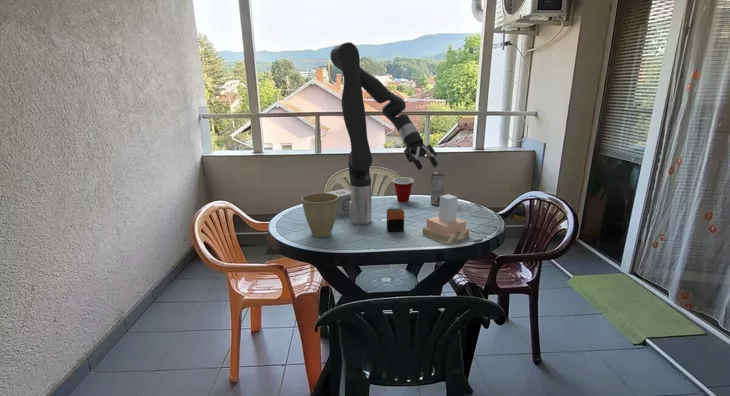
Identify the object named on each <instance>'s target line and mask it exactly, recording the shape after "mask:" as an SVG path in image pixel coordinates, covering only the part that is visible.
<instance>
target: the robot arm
mask: <svg viewBox="0 0 730 396" xmlns="http://www.w3.org/2000/svg"><path fill="white" fill-rule="evenodd" d="M330 60H331V63H332V64H333V65H334V66H335V67H336V68H337V69H339V71H342V77H343V89H342V95H341V110H342V116H343V121H344V124H345V128H346V131H347V134H348V137H349V141H350V148H351V151H350V152H349V154H348V177H349V184H350V186H349V187H350V190H349V191H351V201H349V215H348V216H349V218H348V219H349V220H348V221H349V222H350V223H353V224H354V225H356V226H358V225H368V224H370V223H372V220H373V219H372V178H371V174H370V168H371V166H372V163H373V156H372V152H371V149H370V145H369V144H370V143H369V140H368V139H369V138H368V131H367V119H366V109H365V102H364V97H363V90H364V91H365V92H366V93H367V94H368V95H370V97H371V98H372V99H373V100H374V101H375V102H376V103H378V104H379V105H381V104H383V103H385V104H384V105H383V106H382V111H381V112H382V115H384V117H385V118H386V119H388V120H389V121H390V122H391V123H392V125H394V127H395V128H396V130H397V132H398V134H399V137H400V139H401V140H402V142H403V144H404V146H405V147H406V148H405V149H404V150H403V153H404V155H405V157H406V159H407V161H408V162H409V163H414V165H415V167H416V168H417V169H418V170H419V171H421V170H422V169H423V167H424V166H423V164H422V163H421V161H420V159H419V158H425V159H428V160H429V162H430V163H431V166H432V167H433V168H437V167H438V165H439V163H438V161H437V160H436V157H437V156H438V153H437V152H436V151H435V149H434V147H433V146H432V145H431V144H427V145H425V144H424V139H423V138H422V136H421V134H420V132H419V130H418V129H417V128H416V126H415V125H414V124H413V122H412V120H411V119H410V117H409V116H408V115H407V114H405V113H404V114H401V113H402V112H403V111H404V110H405V109H406V108H407V107H406V106H407V105H406V102H405V100H404V99H403V98H402V97H400V96H399V95H397V94H395V93H393V92H392V91H390V90H389V89H388V88H387V87H386V86H385V85H384V84H383V82H381V81H380V79H378V78H377V77H376V76H374V75H372V74H371V73H369V72H368V71H367V70H366V69H364V68H363V67H361V61H360V60H361V58H360V51H359V48H358V47H357V46H356V45H355V44H354V43H353V42H349V41H347V42H343V43H340V44H338V45H335V46H333V48H332V49H331V51H330ZM386 102H387V103H386Z"/></svg>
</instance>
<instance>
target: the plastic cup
mask: <svg viewBox="0 0 730 396" xmlns="http://www.w3.org/2000/svg"><path fill="white" fill-rule="evenodd" d="M414 181H415V180H414V179H413V178H411V177H405V176H404V177H397V178H394V179H392V182H393V184H394V188H395V195H396V199H397V200H396V201H397V202H398V203H401V204H407V203H409V201H410V196H411V191H412V186H413V183H414Z"/></svg>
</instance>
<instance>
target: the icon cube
mask: <svg viewBox="0 0 730 396" xmlns="http://www.w3.org/2000/svg"><path fill="white" fill-rule="evenodd" d="M326 193H331V194H335V195H337V196H338V197H339V198H338V207H337V213H336V217H337V216H338V217H337V218H341V217H345V216H349V201H351V191H350V190H347V189H344V188H341V189H338V190H337V189H336V190H333V191H327V192H326ZM344 215H345V216H344ZM340 216H341V217H340Z"/></svg>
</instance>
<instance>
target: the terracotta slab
mask: <svg viewBox="0 0 730 396" xmlns="http://www.w3.org/2000/svg"><path fill="white" fill-rule="evenodd" d="M426 227H428V228H430V229H432V230H434V231H436V232H439V233H441V234H443V235H448V234H452V233H456V232H459V231H463V230H466V229H467V221H466V220H463V219H461V218H458V217H456V221H454V222H450V223H445V222H443V221H440V220H439V215H437V216H433V217H429V218H426Z"/></svg>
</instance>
